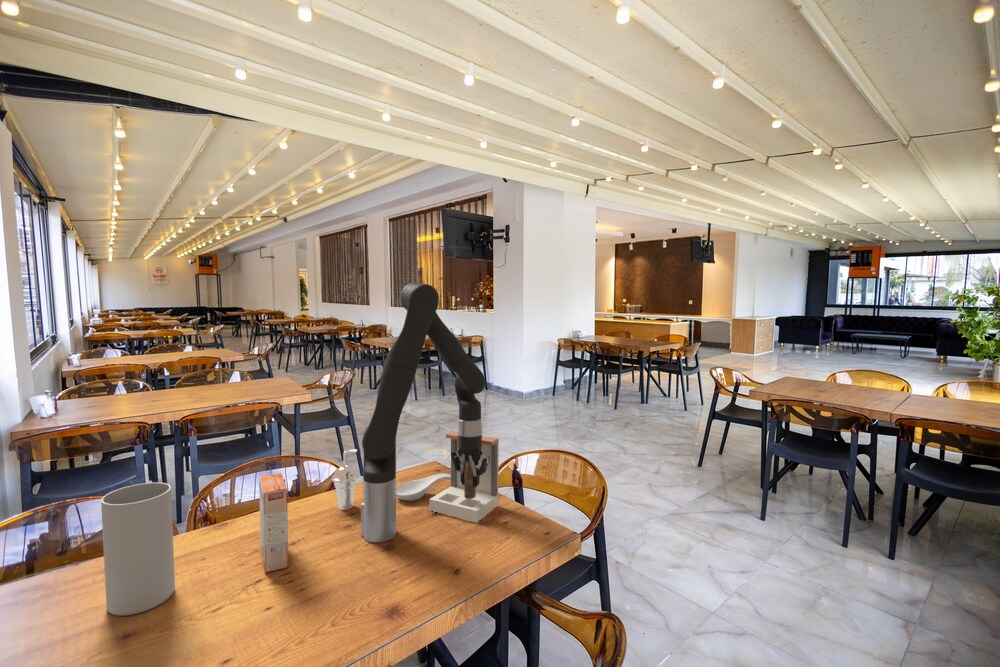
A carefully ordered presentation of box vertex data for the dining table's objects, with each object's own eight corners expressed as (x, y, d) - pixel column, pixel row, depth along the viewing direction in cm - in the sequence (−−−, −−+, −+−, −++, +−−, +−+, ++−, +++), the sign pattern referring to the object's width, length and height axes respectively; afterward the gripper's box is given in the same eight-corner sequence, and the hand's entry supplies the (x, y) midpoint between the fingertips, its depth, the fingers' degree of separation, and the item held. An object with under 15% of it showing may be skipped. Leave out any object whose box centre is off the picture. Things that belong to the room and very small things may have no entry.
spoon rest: (395, 507, 159) (395, 486, 158) (391, 493, 170) (391, 474, 170) (464, 498, 167) (464, 478, 166) (456, 486, 178) (456, 467, 177)
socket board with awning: (429, 511, 156) (429, 441, 154) (453, 495, 168) (453, 431, 166) (476, 523, 147) (477, 449, 146) (498, 506, 160) (498, 438, 158)
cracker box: (290, 567, 122) (288, 488, 121) (264, 574, 119) (261, 493, 118) (283, 543, 134) (282, 471, 133) (259, 549, 131) (257, 475, 130)
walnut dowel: (462, 497, 152) (462, 460, 151) (468, 493, 155) (468, 457, 154) (471, 499, 150) (471, 462, 149) (477, 495, 153) (477, 459, 153)
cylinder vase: (137, 582, 115) (132, 482, 114) (187, 584, 115) (183, 483, 113) (91, 616, 103) (85, 504, 101) (147, 618, 102) (142, 505, 101)
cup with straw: (352, 499, 164) (351, 442, 163) (364, 507, 158) (363, 448, 156) (327, 506, 159) (326, 447, 157) (339, 515, 152) (338, 454, 151)
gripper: (444, 432, 151) (445, 485, 152) (483, 438, 145) (483, 493, 146) (457, 426, 158) (457, 477, 159) (495, 432, 151) (495, 485, 152)
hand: (470, 485), depth 152 cm, fingers closed on walnut dowel, 3 cm apart
